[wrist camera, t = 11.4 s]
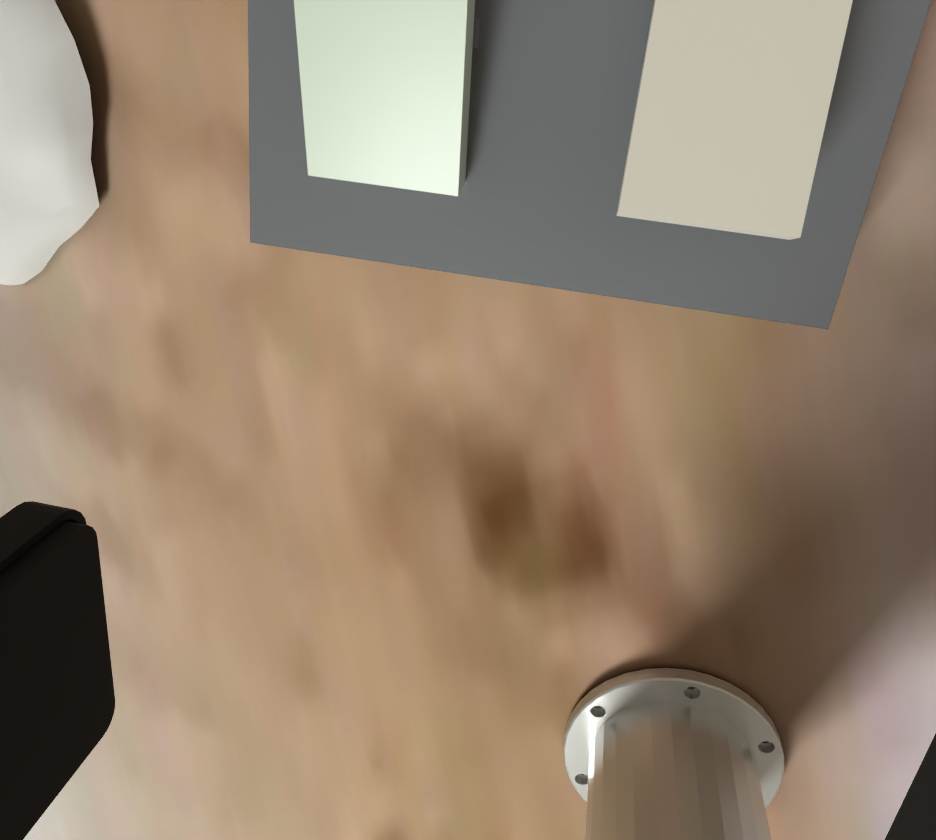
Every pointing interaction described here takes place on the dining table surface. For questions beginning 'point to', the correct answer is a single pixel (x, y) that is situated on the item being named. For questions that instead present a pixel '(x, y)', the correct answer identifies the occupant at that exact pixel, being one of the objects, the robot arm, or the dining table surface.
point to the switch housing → (577, 166)
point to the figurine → (41, 138)
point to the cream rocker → (732, 113)
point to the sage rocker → (386, 90)
